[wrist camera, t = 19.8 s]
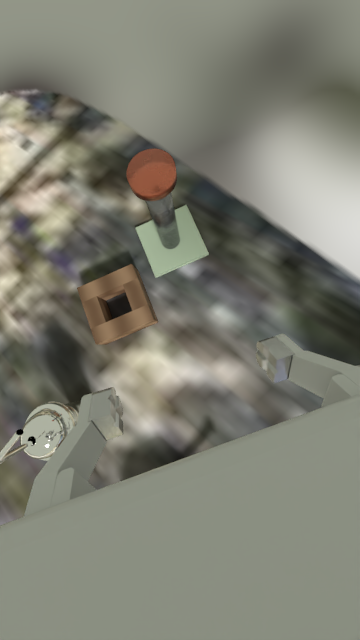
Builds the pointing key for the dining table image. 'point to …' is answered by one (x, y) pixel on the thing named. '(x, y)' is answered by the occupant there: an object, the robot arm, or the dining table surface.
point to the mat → (179, 256)
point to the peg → (156, 190)
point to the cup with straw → (43, 430)
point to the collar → (108, 288)
